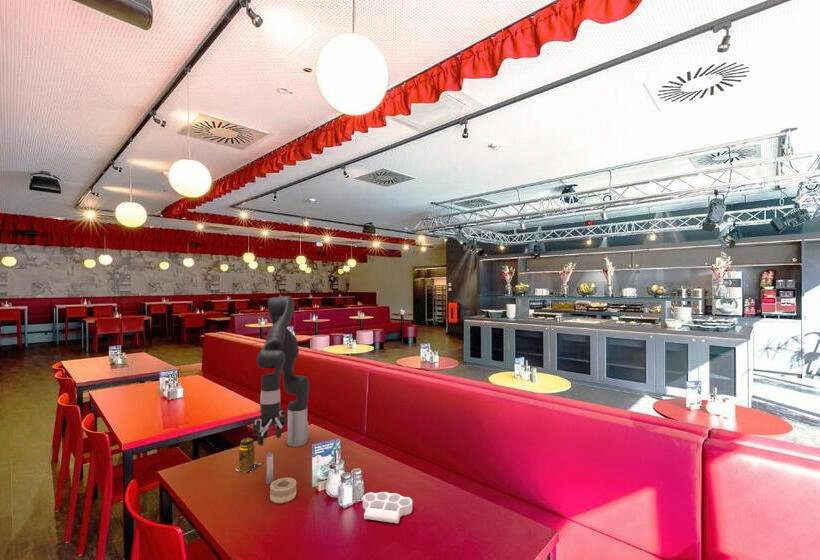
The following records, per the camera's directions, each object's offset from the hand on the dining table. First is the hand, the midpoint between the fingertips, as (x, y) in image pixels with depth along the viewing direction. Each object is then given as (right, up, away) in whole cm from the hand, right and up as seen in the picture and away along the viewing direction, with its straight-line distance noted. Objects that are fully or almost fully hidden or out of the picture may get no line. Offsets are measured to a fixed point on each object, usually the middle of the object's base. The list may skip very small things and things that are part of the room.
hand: (269, 441), depth 149 cm
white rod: (0, -16, 0) cm, 16 cm away
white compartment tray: (+48, -17, -17) cm, 54 cm away
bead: (+9, -16, -9) cm, 21 cm away
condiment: (-14, -17, +12) cm, 25 cm away
